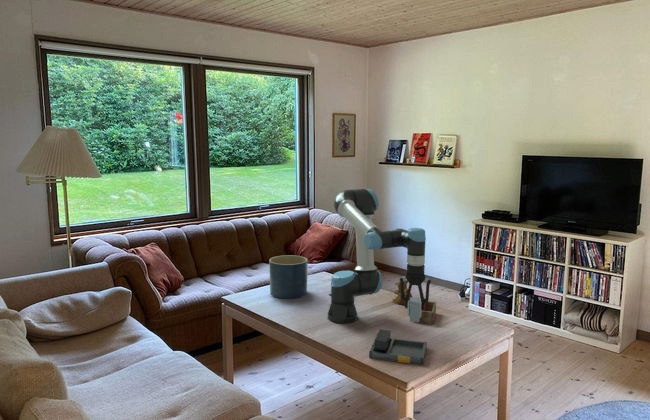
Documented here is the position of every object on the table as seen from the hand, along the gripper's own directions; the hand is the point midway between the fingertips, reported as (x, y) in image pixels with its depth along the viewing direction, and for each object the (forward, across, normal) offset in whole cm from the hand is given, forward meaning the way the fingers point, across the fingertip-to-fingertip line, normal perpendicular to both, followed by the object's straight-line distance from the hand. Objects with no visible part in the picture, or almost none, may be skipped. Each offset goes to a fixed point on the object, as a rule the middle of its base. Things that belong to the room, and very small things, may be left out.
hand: (414, 315), depth 216 cm
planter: (+12, -77, +52) cm, 94 cm away
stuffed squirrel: (+13, -10, +53) cm, 56 cm away
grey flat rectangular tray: (+13, -5, -10) cm, 18 cm away
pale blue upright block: (+1, 0, 0) cm, 1 cm away
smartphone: (+13, -47, +61) cm, 78 cm away
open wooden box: (+13, +3, +35) cm, 37 cm away
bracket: (+13, +2, +35) cm, 37 cm away
